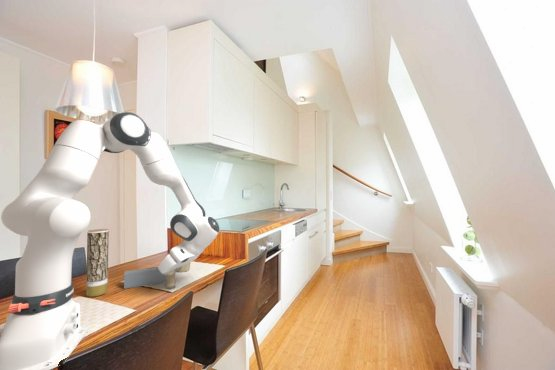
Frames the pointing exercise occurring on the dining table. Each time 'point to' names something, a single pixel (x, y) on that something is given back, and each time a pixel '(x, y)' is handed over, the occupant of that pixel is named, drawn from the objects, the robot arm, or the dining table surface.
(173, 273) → the dowel
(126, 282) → the grey rectangular block
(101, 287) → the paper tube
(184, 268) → the flower pot
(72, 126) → the robot arm
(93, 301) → the dining table surface
